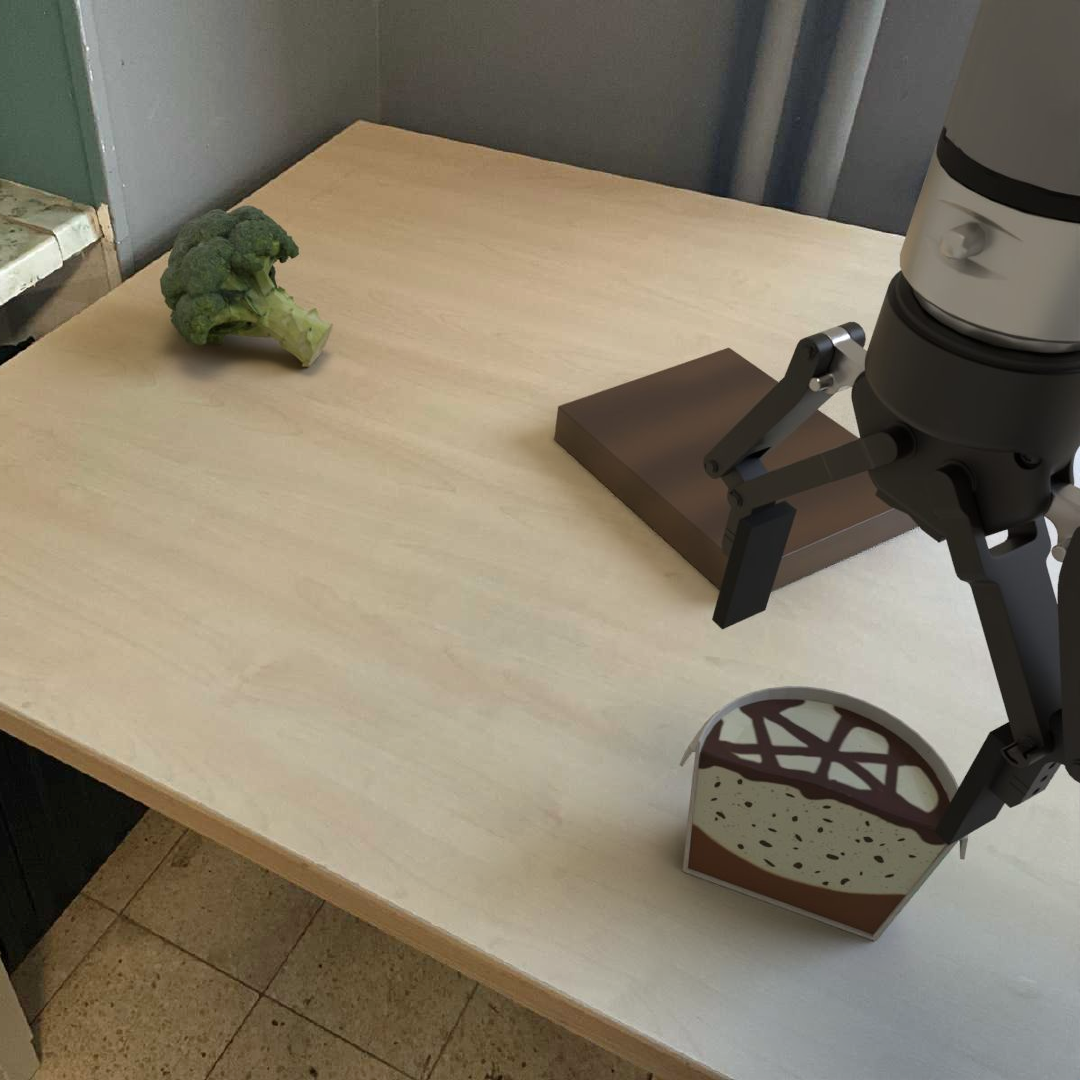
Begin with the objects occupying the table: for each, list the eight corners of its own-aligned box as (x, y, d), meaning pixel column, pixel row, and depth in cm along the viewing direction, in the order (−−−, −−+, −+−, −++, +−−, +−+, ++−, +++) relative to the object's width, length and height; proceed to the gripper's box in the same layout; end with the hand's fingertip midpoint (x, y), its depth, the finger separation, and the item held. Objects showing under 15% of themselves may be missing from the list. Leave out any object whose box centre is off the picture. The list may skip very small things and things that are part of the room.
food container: (921, 851, 59) (988, 727, 53) (909, 953, 55) (980, 832, 49) (681, 771, 63) (715, 646, 57) (653, 860, 59) (686, 737, 53)
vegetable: (262, 399, 87) (109, 276, 87) (283, 421, 99) (150, 313, 100) (364, 272, 86) (210, 150, 87) (372, 310, 99) (238, 203, 100)
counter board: (921, 525, 78) (935, 491, 76) (738, 606, 73) (747, 572, 71) (721, 379, 91) (729, 346, 89) (553, 439, 86) (557, 405, 84)
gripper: (675, 173, 45) (605, 569, 59) (1336, 565, 28) (1017, 983, 43) (821, 132, 47) (720, 522, 62) (1506, 471, 31) (1151, 895, 45)
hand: (841, 711), depth 52 cm, fingers open, 13 cm apart
